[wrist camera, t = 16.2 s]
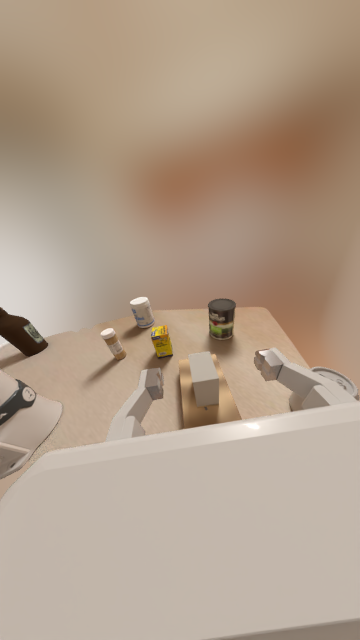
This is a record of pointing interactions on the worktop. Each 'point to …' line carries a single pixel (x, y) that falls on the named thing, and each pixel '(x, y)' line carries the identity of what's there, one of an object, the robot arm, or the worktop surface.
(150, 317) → the supplement tub
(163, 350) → the supplement box
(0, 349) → the worktop surface
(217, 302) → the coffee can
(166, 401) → the worktop surface
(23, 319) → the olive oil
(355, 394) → the can
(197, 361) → the block
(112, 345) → the sprinkles bottle
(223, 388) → the plank
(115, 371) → the worktop surface
